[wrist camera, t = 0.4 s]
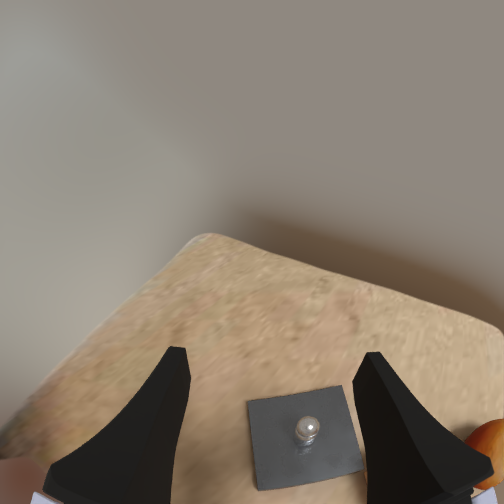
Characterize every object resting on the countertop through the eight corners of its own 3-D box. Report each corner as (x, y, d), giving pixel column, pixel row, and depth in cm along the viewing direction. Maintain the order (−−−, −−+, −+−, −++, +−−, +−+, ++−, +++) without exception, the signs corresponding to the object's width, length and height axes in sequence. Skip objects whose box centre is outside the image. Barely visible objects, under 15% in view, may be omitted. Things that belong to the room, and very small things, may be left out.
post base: (360, 470, 20) (380, 460, 16) (259, 491, 20) (254, 488, 16) (339, 390, 28) (350, 362, 24) (248, 405, 27) (242, 381, 23)
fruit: (461, 409, 21) (520, 398, 14) (480, 443, 19) (531, 436, 12) (427, 469, 17) (492, 470, 10) (449, 497, 15) (504, 499, 9)
